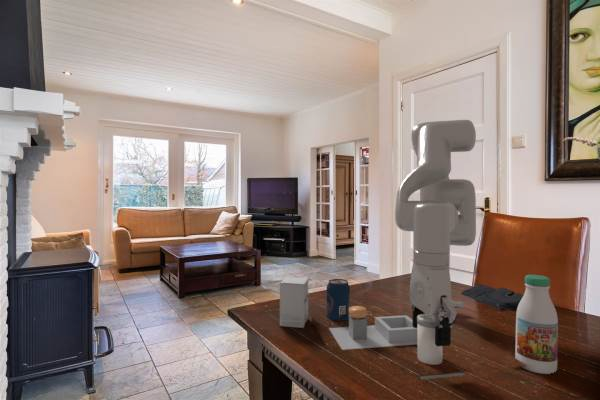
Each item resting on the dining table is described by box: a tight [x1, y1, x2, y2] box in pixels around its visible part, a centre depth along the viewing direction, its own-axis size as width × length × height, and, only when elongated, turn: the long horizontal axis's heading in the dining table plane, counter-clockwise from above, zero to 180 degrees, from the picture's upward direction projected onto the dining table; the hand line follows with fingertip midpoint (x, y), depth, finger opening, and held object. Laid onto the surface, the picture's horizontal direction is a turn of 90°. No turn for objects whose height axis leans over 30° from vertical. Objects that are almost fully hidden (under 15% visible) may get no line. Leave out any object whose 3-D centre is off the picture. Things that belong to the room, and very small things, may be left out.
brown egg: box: [349, 305, 368, 319], centre depth 90 cm, size 4×4×6 cm
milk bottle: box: [514, 274, 559, 375], centre depth 77 cm, size 8×8×20 cm
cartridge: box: [416, 314, 444, 366], centre depth 78 cm, size 5×5×10 cm
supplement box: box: [279, 276, 309, 329], centre depth 103 cm, size 7×7×13 cm
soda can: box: [325, 278, 351, 322], centre depth 104 cm, size 7×7×12 cm
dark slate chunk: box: [460, 283, 524, 312], centre depth 125 cm, size 15×22×5 cm
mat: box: [416, 371, 465, 380], centre depth 78 cm, size 10×10×1 cm
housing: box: [328, 314, 418, 351], centre depth 91 cm, size 24×13×6 cm, turn 99°
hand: (430, 335), depth 78 cm, fingers open, 9 cm apart
